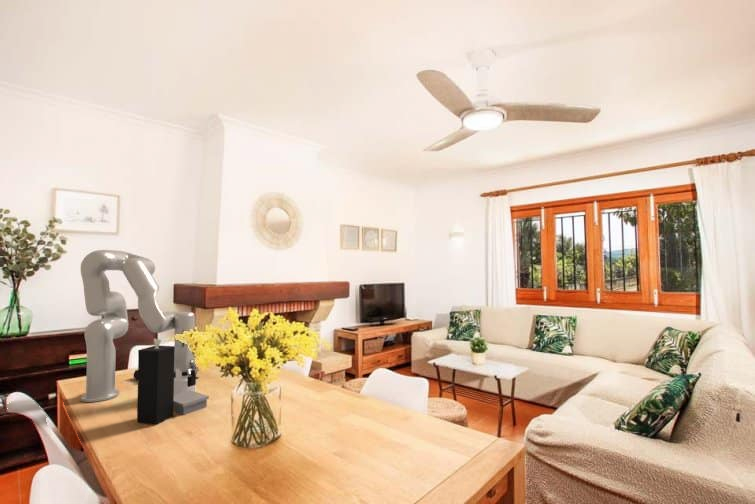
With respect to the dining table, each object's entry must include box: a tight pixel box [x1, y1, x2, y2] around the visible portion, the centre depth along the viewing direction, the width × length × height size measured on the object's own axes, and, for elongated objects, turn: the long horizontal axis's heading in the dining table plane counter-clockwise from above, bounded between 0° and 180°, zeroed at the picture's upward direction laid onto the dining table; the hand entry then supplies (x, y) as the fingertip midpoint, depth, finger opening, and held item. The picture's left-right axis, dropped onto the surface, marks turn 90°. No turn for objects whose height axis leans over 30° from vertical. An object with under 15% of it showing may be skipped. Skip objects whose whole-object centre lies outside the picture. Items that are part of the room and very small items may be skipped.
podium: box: [173, 390, 210, 416], centre depth 141 cm, size 12×10×4 cm
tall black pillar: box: [136, 338, 175, 426], centre depth 130 cm, size 8×8×28 cm
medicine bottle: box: [174, 368, 197, 395], centre depth 154 cm, size 7×7×12 cm
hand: (184, 383), depth 154 cm, fingers open, 9 cm apart
